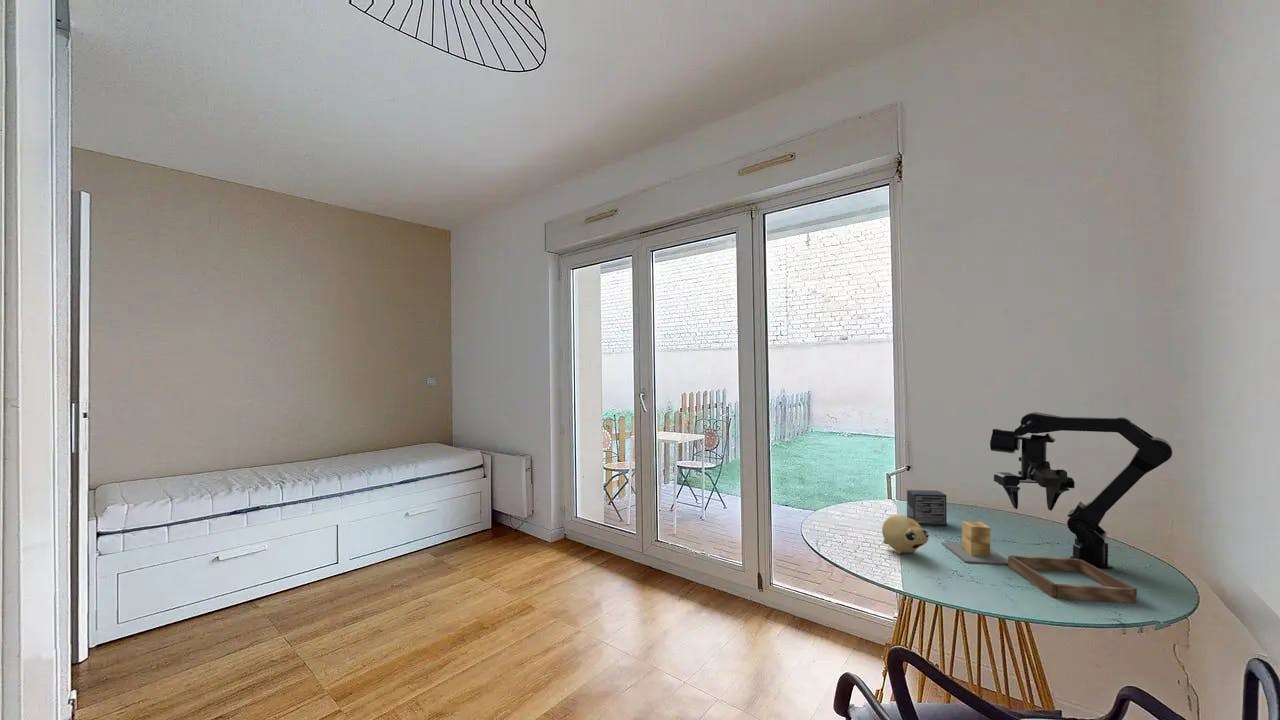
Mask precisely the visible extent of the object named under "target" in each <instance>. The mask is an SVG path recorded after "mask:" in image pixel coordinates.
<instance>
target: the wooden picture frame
mask: <svg viewBox="0 0 1280 720" xmlns="http://www.w3.org/2000/svg"><path fill="white" fill-rule="evenodd" d="M1007 560H1008V565H1007V566H1008V568H1009V569H1010V570H1012V571H1013V572H1015V573H1016V574H1017V575H1019V576H1020V577H1022V578H1023V579H1025V580H1026V581H1028V582H1029V583H1030V584H1031V585H1033V586H1035V587H1036V588H1038V589H1039V590H1041V591H1042V592H1044V593H1045V594H1046V595H1048V596H1049V597H1051V598H1057V599H1061V600H1062V599H1063V600H1076V599H1077V601H1093V600H1095V602H1096V601H1098V602H1113V603H1114V602H1115V603H1129V604H1134V603H1137V601H1138V600H1137V597H1138V596H1137V595H1138V591H1137V590H1138V589H1137V588H1135V587H1134V586H1132V585H1131V584H1128V583H1126V582H1125V581H1122V580H1121V579H1119V578H1118V577H1115V576H1113V575H1111V574H1109V573H1108V572H1105V570H1102V569H1101V568H1097V567H1095V566H1093V565H1091V564H1089V563H1087V562H1085V561H1084V560H1079V559H1073V558H1069V557H1049V556H1032V555H1012V554H1011V555H1008V557H1007ZM1036 570H1041V571H1043V570H1044V571H1045V570H1046V571H1059V572H1061V571H1062V572H1064V571H1065V572H1078V571H1079V572H1078V573H1081V574H1082V573H1083V575H1085V576H1086V577H1088V578H1090V579H1091V580H1093V581H1094V582H1096V583H1099V584H1100V585H1102V586H1100V585H1099V586H1098V585H1083V584H1066V583H1065V584H1064V583H1055V582H1053V581H1051V580H1050V579H1048V578H1046V576H1044V575H1042V574H1041V573H1039V572H1038V571H1036ZM1078 599H1080V600H1078Z"/></svg>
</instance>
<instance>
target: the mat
mask: <svg viewBox="0 0 1280 720" xmlns="http://www.w3.org/2000/svg"><path fill="white" fill-rule="evenodd" d="M940 543H941V545H942V546H944V547H945V548H946V549H948V551H950V552H951V553H953V554H954V555H955V556H956V557H958V558H959V559H960V560H961V561H962V562H963V563H966V564H980V563H984V565H1000V564H1001V566H1002V565H1003V566H1008V558H1005V557H1004V556H1003V555H1001V554H1000V553H998V552H997V551H995V550H993V549H992V548H991V547H990V556H975V555H970V554H969V553H967V552H966V551H965V550H963V549H962V542H947V541H946V542H943V541H941V542H940Z"/></svg>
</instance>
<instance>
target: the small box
mask: <svg viewBox="0 0 1280 720" xmlns="http://www.w3.org/2000/svg"><path fill="white" fill-rule="evenodd" d="M947 497H948V496H947V494H945V493H943V492H942V491H940V490H926V489H925V490H924V489H922V490H921V489H907V490H906V517H907V518H910V519H913V520H915V521H916V522H917V523H918V524H919V525H920V526H934V527H935V526H936V527H941V526H942V527H946V526H948V524H947Z"/></svg>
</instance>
